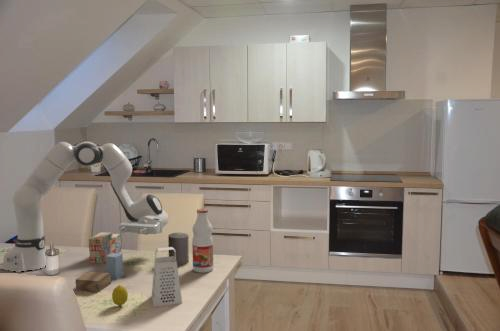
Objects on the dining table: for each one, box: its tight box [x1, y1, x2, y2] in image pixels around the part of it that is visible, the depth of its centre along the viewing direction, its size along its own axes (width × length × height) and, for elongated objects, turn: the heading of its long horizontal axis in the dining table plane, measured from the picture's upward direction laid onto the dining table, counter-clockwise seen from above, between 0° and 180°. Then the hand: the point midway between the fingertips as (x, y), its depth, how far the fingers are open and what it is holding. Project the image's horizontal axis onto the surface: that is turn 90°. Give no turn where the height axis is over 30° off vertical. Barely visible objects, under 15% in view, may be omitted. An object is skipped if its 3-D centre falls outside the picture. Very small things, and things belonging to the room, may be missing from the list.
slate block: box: [105, 253, 124, 281], centre depth 205 cm, size 5×5×10 cm
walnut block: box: [75, 271, 112, 293], centre depth 193 cm, size 10×10×5 cm
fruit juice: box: [191, 208, 214, 274], centre depth 213 cm, size 9×9×28 cm
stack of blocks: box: [88, 232, 122, 264], centre depth 235 cm, size 21×6×12 cm, turn 170°
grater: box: [151, 246, 183, 307], centre depth 178 cm, size 10×10×20 cm
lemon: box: [111, 284, 129, 307], centre depth 173 cm, size 6×6×8 cm
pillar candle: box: [167, 232, 190, 267], centre depth 225 cm, size 10×10×15 cm
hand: (130, 231), depth 215 cm, fingers open, 8 cm apart
